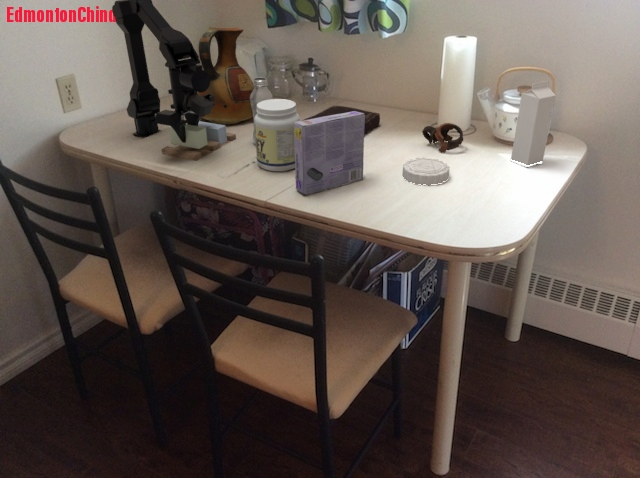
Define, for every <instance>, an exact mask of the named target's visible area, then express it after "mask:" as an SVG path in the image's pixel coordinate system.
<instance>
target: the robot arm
mask: <svg viewBox="0 0 640 478" xmlns="http://www.w3.org/2000/svg"><path fill="white" fill-rule="evenodd" d="M111 11H112V16H113V17H114V20H115V23H116V25H117V26H118V27H119V28H120V30H121V31H122V32H123V34H124V40H125V45H126V50H127V56H128V57H127V58H128V62H129V67H130V73H131V76H132V77H131V78H132V86H131V88H130V90H129V102H128V105H127V107H126V112H127V114H128V117H129V118H132V119H133V120H134V126H135V132H133V133H132V135H133V136H137V137H141V138H148V137H150V136H153V135H155V134H157V133H159V132H162V130H161V129H159V125H162V126H167V127H169V126H171V127H172V128H173V129H174V131H175V132H176V134H177V135H178V137H179V138H180V140H181V141H182V142H183V143H185V142H186V132H185V125H186V124H188V125H194V126H198V123H199V121H201V117H204V116H205V115H207V114H210V113H211V109H212V108H213V107H214V106H215V104H214V103H215V100H214V95H212V94H211V93H209V94H206V95H205V96H203V95H202V96H200V95H198V92H204V91H206V90H207V89H208V88H209V86H210V77H209V75H208V73H207V72H206V71H204V69H203V66H202V64H201V60H200V56H199V54H198V53H197V51H196V49H195V48H194V46H193V44H192V42H191V40H190V38H189V37H187V36H186V34H184V33H183V31H180V30H177V29H175V28H173V27H172V26H171V25H170V24H169V22H168V21H167V19H165V18H164V16H163V15H162V14H161V13H160V11H159V10H158V9H157V8H156V7H155V5H154V4H153V1H152V0H115V1H114V4H113V5H112V6H111ZM144 26H146V28H148V30H149V31H150V32H151V34H152V35H153V36H154V37H155V38H156V39H157V41H158V49H159V52H160V53H161V54H162V57H163V59H165V61H166V62H165V63H164V66H165V67H166V68H168V74H169V79H170V80H169V82H170V88H171V89H167V91H168V94H169V95H172V96H171V97H172V102H173V103H171V104H170V105H169V106H170V109H172V110H169V109H163V110H161V99H160V96H159V90H158V89H157V87H154V85H153V84H152V83H151V80H150V75H149V68H148V61H147V57H146V52H145V51H146V50H145V45H144V39H143V34H142V31H143V29H144Z"/></svg>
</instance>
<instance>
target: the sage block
mask: <svg viewBox="0 0 640 478" xmlns="http://www.w3.org/2000/svg"><path fill="white" fill-rule="evenodd" d="M185 132H186V142H185V143H183V142H182V141H181V140H180V138H179V137H178V135H177V134H176V132H175V131H174V129H173V128H172V127H171V126H168V133H169V140H170V144H171V145H177V146H179V145H181V146H186V147H191V148H197V149H200V148H202V147H204V146H206V145H208V143H207V134H206V128H205V127H200V126H194V125H188V124H187V123H186V125H185Z"/></svg>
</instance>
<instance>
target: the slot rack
mask: <svg viewBox="0 0 640 478" xmlns="http://www.w3.org/2000/svg"><path fill="white" fill-rule="evenodd" d="M226 134H227V142H226V143H224V144H222V145H220V142H215V141H210V140H207V143H208V145H206V146H204V147H202V148H200V149H197V148H191V147H186V146H181V145H177V146H175V147H172V146H165V147H163V148H161V154H162V155H164V156H165V155H166V156H170V157H175V158H179V159H185V160H189V161H195V162H197V161H198V160H200V159H202V158H204V157H206V156H208V155H210V154H211V153H213V152H214V151H217V150H219V149H221V148H222V147H224V146H226V145H228V144H230V143H231V142H234V141H235V140H236V139H237V135H236V133H232V132H227V131H226Z"/></svg>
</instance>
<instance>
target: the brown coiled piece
mask: <svg viewBox="0 0 640 478" xmlns="http://www.w3.org/2000/svg"><path fill="white" fill-rule="evenodd" d="M452 130H456V132H457V134H459V137H458V138H456V139H453V138H454V137H453V136H451V135H450V134H448V133H449V132H450V131H452ZM421 132H422V135H423V137H424V138H425V140H427V141H428V143H429V144H430V145H432V144H433V143H434V144H436V143H437V141H438V143H440V147H439V148H438V151H439V152H440V153H442V152H444V153H446V151H451V150H455V149H457V148H458V147H460V146H461V145H462V143H463V141H464V133H463V130H462V128H461V127H460V126H458V124H454V123H452V122H445V123H442V124H440V125H439V126H438V127H434V126H431V125H427V126H424V128H423V129H422V131H421ZM446 141H448V142H446ZM435 142H436V143H435Z"/></svg>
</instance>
